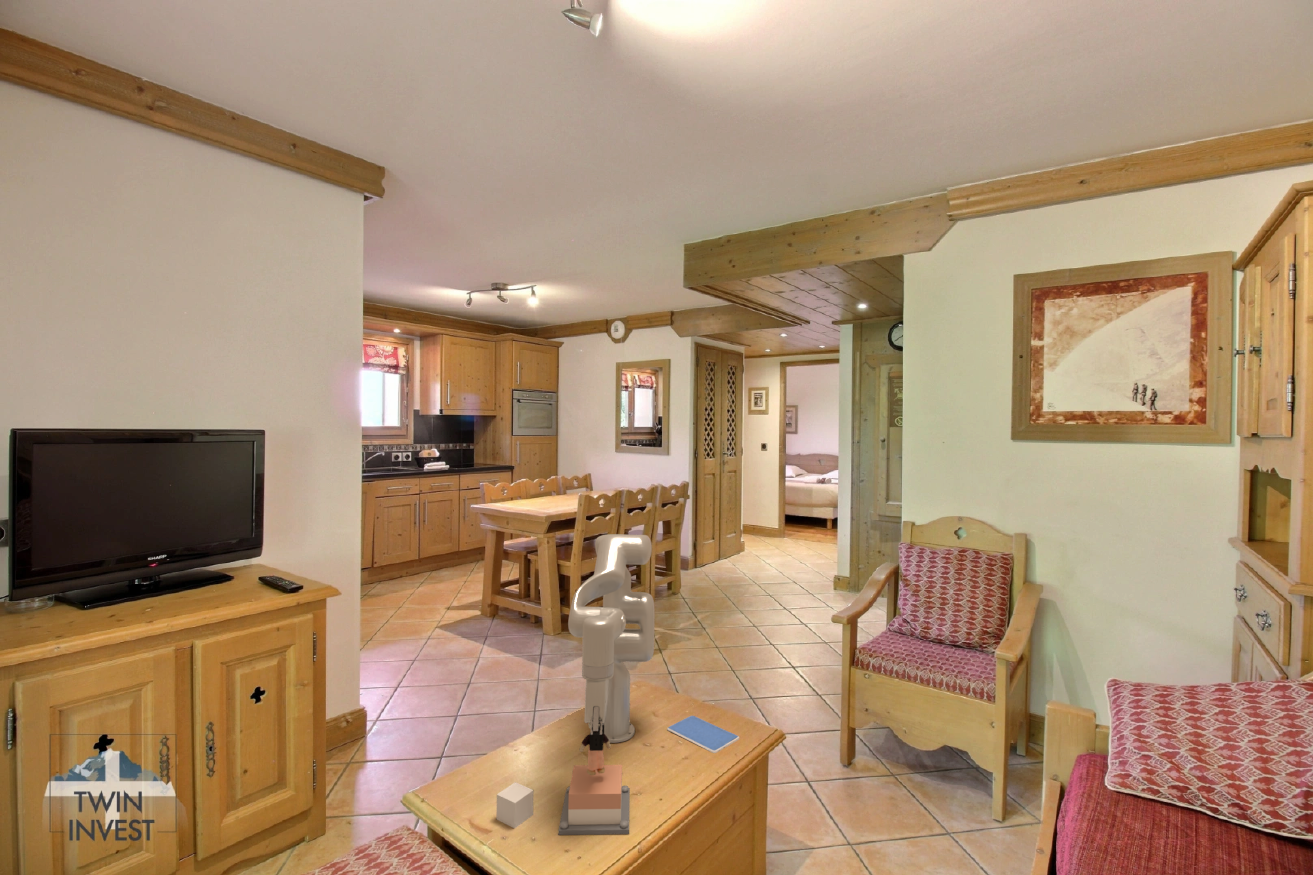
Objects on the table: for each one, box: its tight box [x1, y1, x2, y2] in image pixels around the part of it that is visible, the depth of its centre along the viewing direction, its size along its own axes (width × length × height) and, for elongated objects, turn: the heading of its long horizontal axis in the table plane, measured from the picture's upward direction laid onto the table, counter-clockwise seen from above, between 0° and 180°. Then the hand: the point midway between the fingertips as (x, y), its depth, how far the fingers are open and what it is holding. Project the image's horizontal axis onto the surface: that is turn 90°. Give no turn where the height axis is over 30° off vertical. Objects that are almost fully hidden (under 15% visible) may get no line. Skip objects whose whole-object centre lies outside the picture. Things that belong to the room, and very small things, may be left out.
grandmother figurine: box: [579, 718, 612, 775], centre depth 142 cm, size 8×4×13 cm, turn 123°
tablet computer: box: [666, 715, 740, 754], centre depth 181 cm, size 19×13×1 cm, turn 45°
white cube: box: [496, 781, 534, 829], centre depth 140 cm, size 6×6×6 cm
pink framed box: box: [557, 764, 631, 836], centre depth 142 cm, size 16×16×8 cm
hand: (596, 744), depth 142 cm, fingers closed on grandmother figurine, 3 cm apart
